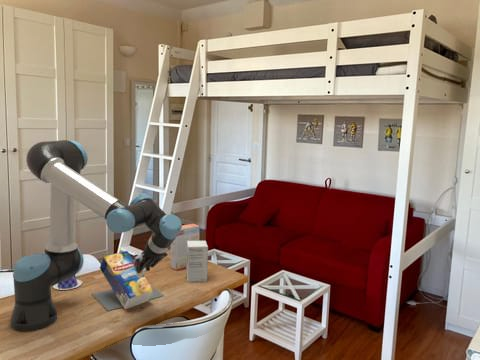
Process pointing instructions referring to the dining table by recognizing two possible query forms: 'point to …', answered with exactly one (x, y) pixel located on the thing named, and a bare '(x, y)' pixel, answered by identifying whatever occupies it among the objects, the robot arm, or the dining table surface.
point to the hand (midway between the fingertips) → (138, 274)
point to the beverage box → (125, 279)
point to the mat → (112, 301)
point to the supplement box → (197, 261)
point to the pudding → (68, 283)
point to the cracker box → (182, 246)
